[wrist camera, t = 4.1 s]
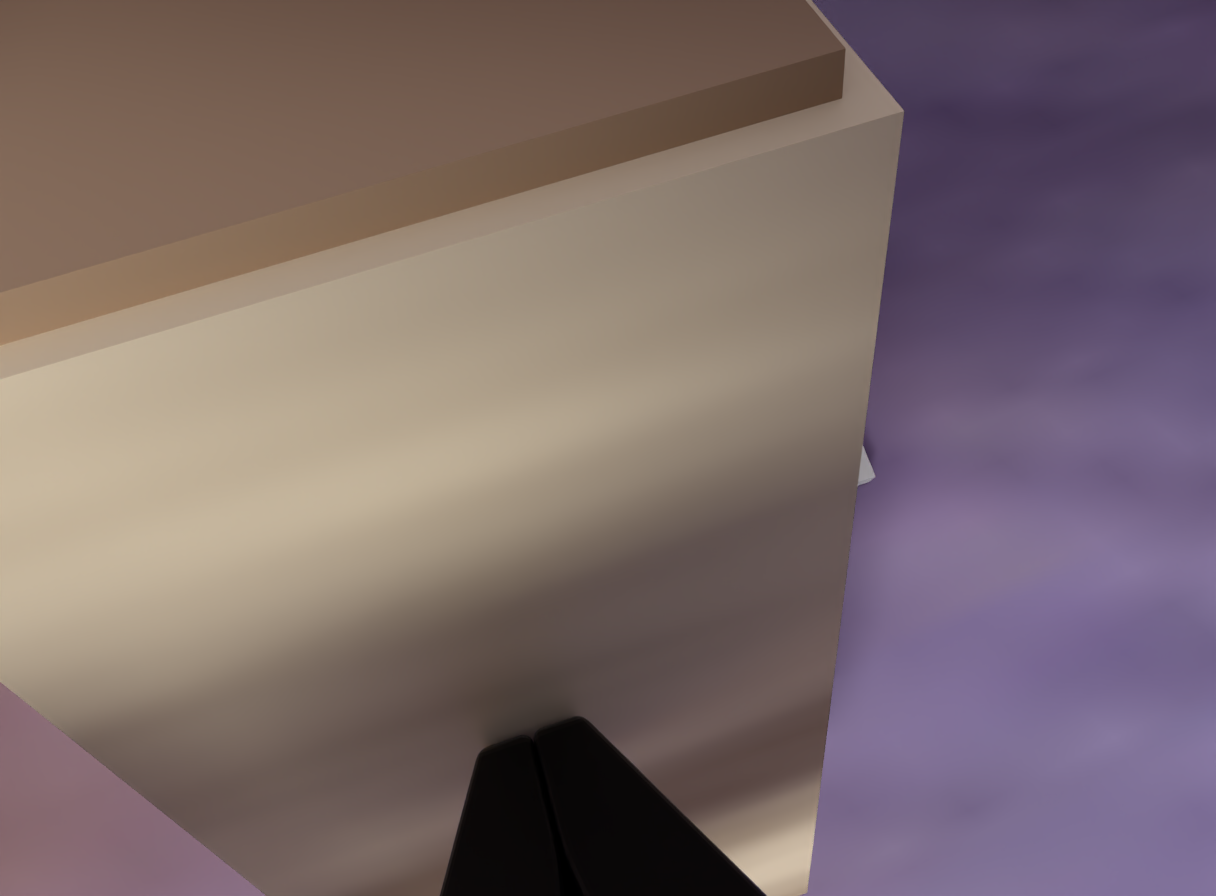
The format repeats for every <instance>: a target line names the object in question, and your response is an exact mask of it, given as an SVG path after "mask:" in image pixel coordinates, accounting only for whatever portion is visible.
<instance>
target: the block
mask: <svg viewBox="0 0 1216 896" xmlns="http://www.w3.org/2000/svg"><path fill="white" fill-rule="evenodd" d="M903 117H904V110H903V109H902V108H901V106H900V105H899V104H898V103H897V102H896V101H895V99H894V98H893V97H892V96H891V95H890V93H889V92H888V91H887V90H886V89H885V87H884V86H883V85H882V84H881V83H880V81H879V80H878V79H877V78H876V77H875V75H874V74H873V73H872V72H871V71H870V70H869V68H868V67H867V66H866V65H865V64H864V62H863V61H862V60H861V59H860V58H859V56H858V55H857V54H856V53H855V52H854V50H853V49H852V48H851V47H850V46H849V44H848V43H847V42H846V41H845V40H844V39H843V37H842V36H841V35H840V34H839V33H838V31H837V30H836V29H835V28H834V27H833V25H832V24H831V23H830V22H829V21H828V19H827V18H826V17H825V16H824V15H823V13H822V12H821V11H820V10H819V9H818V7H817V6H816V5H815V4H814V3H813V2H812V0H0V682H1V683H2V684H4V685H5V686H6V687H7V688H9V689H10V690H11V691H12V692H14V693H15V694H16V695H17V696H19V697H20V698H21V699H22V700H24V701H25V702H26V703H27V704H29V705H30V706H31V707H32V708H33V709H35V710H36V711H37V712H38V713H40V714H41V715H42V716H43V717H45V718H46V719H47V720H48V721H50V722H51V723H52V724H53V725H55V726H56V727H57V728H58V729H60V730H61V731H62V732H63V733H65V734H66V735H67V736H68V737H70V738H71V739H72V740H73V741H75V742H76V743H77V744H78V745H80V746H81V747H82V748H83V749H85V750H86V751H87V752H88V753H89V754H91V755H92V756H93V757H94V758H96V759H97V760H98V761H99V762H101V763H102V764H103V765H104V766H106V767H107V768H108V769H109V770H111V771H112V772H113V773H114V774H116V775H117V776H118V777H119V778H121V779H122V780H123V781H124V782H126V783H127V784H128V785H129V786H131V787H132V788H133V789H134V790H136V791H137V792H138V793H139V794H141V795H142V796H143V797H144V798H146V799H147V800H148V801H149V802H150V803H152V804H153V805H154V806H155V807H157V808H158V809H159V810H160V811H162V812H163V813H164V814H165V815H167V816H168V817H169V818H170V819H172V820H173V821H174V822H175V823H177V824H178V825H179V826H180V827H182V828H183V829H184V830H185V831H187V832H188V833H189V834H190V835H192V836H193V837H194V838H195V839H197V840H198V841H199V842H200V843H202V844H203V845H204V846H205V847H206V848H208V849H209V850H210V851H211V852H213V853H214V854H215V855H216V856H218V857H219V858H220V859H221V860H223V861H224V862H225V863H226V864H228V865H229V866H230V867H231V868H233V869H234V870H235V871H236V872H238V873H239V874H240V875H241V876H243V877H244V878H245V879H246V880H248V881H249V882H250V883H251V884H253V885H254V886H255V887H256V888H258V889H259V890H260V891H261V892H262V893H264V894H265V895H266V896H439V895H440V892H441V888H442V884H443V880H444V877H445V873H446V869H447V865H448V862H449V858H450V854H451V850H452V847H453V843H454V839H455V836H456V832H457V828H458V824H459V821H460V817H461V813H462V809H463V806H464V802H465V798H466V794H467V791H468V787H469V783H470V779H471V776H472V772H473V768H474V765H475V761H476V758H477V756H478V754H479V753H480V751H481V750H482V749H484V748H486V747H488V746H491V745H494V744H497V743H500V742H503V741H505V740H508V739H511V738H514V737H517V736H520V735H527V736H529V737H530V738H531V739H532V740H533V742H534V739H533V738H534V734H535V732H536V731H537V730H538V729H540V728H543V727H546V726H548V725H551V724H554V723H557V722H560V721H563V720H566V719H569V718H572V717H574V716H582V717H584V718H586V719H587V720H589V721H590V722H591V723H592V724H593V725H594V726H595V727H596V728H597V729H598V730H599V731H600V732H601V733H602V734H603V735H604V736H605V737H606V738H607V739H608V740H609V741H610V742H611V743H612V744H613V745H614V746H615V747H616V748H617V749H618V750H619V751H620V752H621V753H622V754H623V755H624V756H625V757H626V758H627V759H629V760H630V761H631V762H632V763H633V764H634V765H635V766H636V767H637V768H638V769H639V770H640V771H641V772H642V773H643V774H644V775H645V776H646V777H647V778H648V779H649V780H650V781H651V782H652V783H653V784H654V785H655V786H656V787H657V788H658V789H659V790H660V791H661V792H662V793H663V794H664V795H665V796H666V797H667V798H668V799H669V800H670V801H671V802H672V803H673V804H674V805H675V806H676V807H677V808H678V809H679V810H680V811H681V812H682V813H683V814H684V815H686V816H687V817H688V818H689V819H690V820H691V821H692V822H693V823H694V824H695V825H696V826H697V827H698V828H699V829H700V830H701V831H702V832H703V833H704V834H705V835H706V836H707V837H708V838H709V839H710V840H711V841H712V842H713V843H714V844H715V845H716V846H717V847H718V848H719V849H720V850H721V851H722V852H723V853H724V854H725V855H726V856H727V857H728V858H729V859H730V860H731V861H732V862H733V863H734V864H735V865H736V866H737V867H738V868H739V869H740V870H741V871H743V872H744V873H745V874H746V875H747V876H748V877H749V878H750V879H751V880H752V881H753V882H754V883H755V884H756V885H757V886H758V887H759V888H760V889H761V890H762V891H763V892H764V893H765V894H766V895H767V896H799V895H802V894H804V893H807V889H808V881H809V873H810V865H811V857H812V849H813V841H814V833H815V824H816V816H817V808H818V800H819V792H820V784H821V776H822V768H823V760H824V752H825V744H826V736H827V728H828V720H829V712H830V704H831V696H832V688H833V680H834V672H835V664H836V656H837V648H838V640H839V632H840V623H841V615H842V607H843V599H844V591H845V583H846V575H847V567H848V559H849V551H850V543H851V535H852V527H853V519H854V511H855V503H856V495H857V487H858V479H859V471H860V463H861V455H862V447H863V439H864V431H865V423H866V414H867V406H868V398H869V390H870V382H871V374H872V366H873V358H874V350H875V342H876V334H877V326H878V318H879V310H880V302H881V294H882V286H883V278H884V270H885V262H886V254H887V246H888V238H889V230H890V222H891V213H892V205H893V197H894V189H895V181H896V173H897V165H898V157H899V149H900V141H901V133H902V125H903Z"/></svg>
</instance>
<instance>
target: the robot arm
mask: <svg viewBox="0 0 1216 896" xmlns="http://www.w3.org/2000/svg"><path fill="white" fill-rule="evenodd" d="M533 739H534V742H533V740H532V739H531V738H530V737H529V736H527V735H520V736H517V737H514V738H511V739H508V740H505V741H503V742H500V743H497V744H494V745H491V746H488V747H486V748H484V749H482V750H481V751H480V753H479V754H478V756H477V758H476V761H475V765H474V768H473V772H472V776H471V779H470V783H469V787H468V791H467V794H466V798H465V802H464V806H463V809H462V813H461V817H460V821H459V824H458V828H457V832H456V836H455V839H454V843H453V847H452V850H451V854H450V858H449V862H448V865H447V869H446V873H445V877H444V880H443V884H442V888H441V892H440V895H439V896H767V895H766V894H765V893H764V892H763V891H762V890H761V889H760V888H759V887H758V886H757V885H756V884H755V883H754V882H753V881H752V880H751V879H750V878H749V877H748V876H747V875H746V874H745V873H744V872H743V871H741V870H740V869H739V868H738V867H737V866H736V865H735V864H734V863H733V862H732V861H731V860H730V859H729V858H728V857H727V856H726V855H725V854H724V853H723V852H722V851H721V850H720V849H719V848H718V847H717V846H716V845H715V844H714V843H713V842H712V841H711V840H710V839H709V838H708V837H707V836H706V835H705V834H704V833H703V832H702V831H701V830H700V829H699V828H698V827H697V826H696V825H695V824H694V823H693V822H692V821H691V820H690V819H689V818H688V817H687V816H686V815H684V814H683V813H682V812H681V811H680V810H679V809H678V808H677V807H676V806H675V805H674V804H673V803H672V802H671V801H670V800H669V799H668V798H667V797H666V796H665V795H664V794H663V793H662V792H661V791H660V790H659V789H658V788H657V787H656V786H655V785H654V784H653V783H652V782H651V781H650V780H649V779H648V778H647V777H646V776H645V775H644V774H643V773H642V772H641V771H640V770H639V769H638V768H637V767H636V766H635V765H634V764H633V763H632V762H631V761H630V760H629V759H627V758H626V757H625V756H624V755H623V754H622V753H621V752H620V751H619V750H618V749H617V748H616V747H615V746H614V745H613V744H612V743H611V742H610V741H609V740H608V739H607V738H606V737H605V736H604V735H603V734H602V733H601V732H600V731H599V730H598V729H597V728H596V727H595V726H594V725H593V724H592V723H591V722H590V721H589V720H587V719H586V718H584V717H582V716H574V717H572V718H569V719H566V720H563V721H560V722H557V723H554V724H551V725H548V726H546V727H543V728H540V729H538V730H537V731H536V732H535V734H534V738H533Z"/></svg>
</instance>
